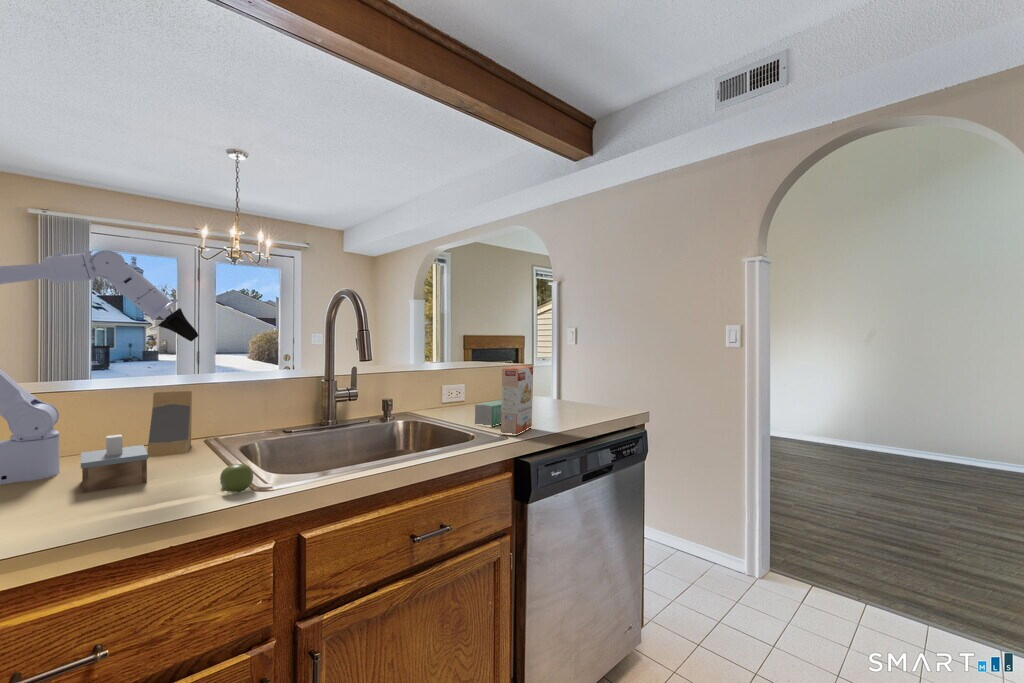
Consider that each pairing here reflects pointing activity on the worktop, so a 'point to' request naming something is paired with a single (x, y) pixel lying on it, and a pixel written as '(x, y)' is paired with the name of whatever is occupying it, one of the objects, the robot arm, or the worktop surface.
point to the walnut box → (114, 475)
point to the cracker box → (516, 399)
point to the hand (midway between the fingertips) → (194, 337)
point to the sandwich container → (170, 423)
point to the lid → (113, 453)
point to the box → (488, 413)
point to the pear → (236, 477)
